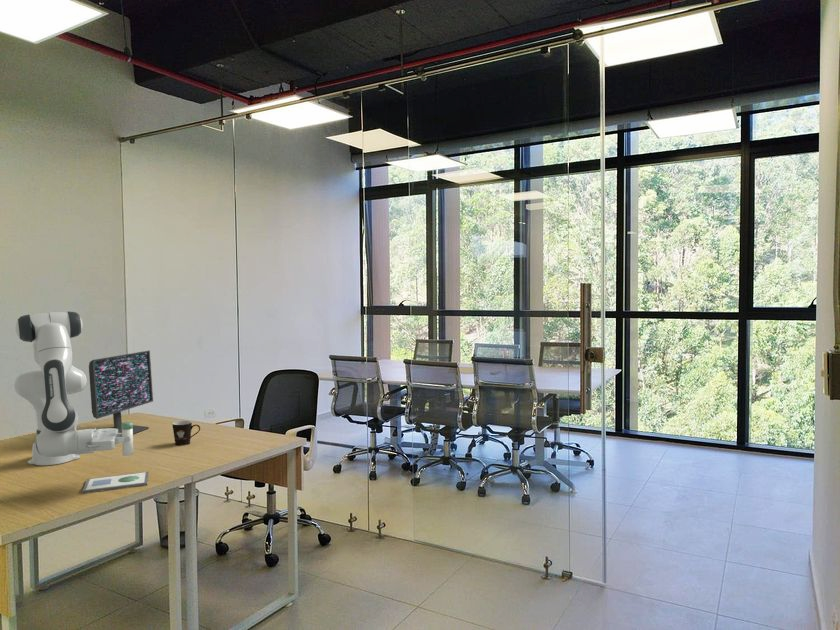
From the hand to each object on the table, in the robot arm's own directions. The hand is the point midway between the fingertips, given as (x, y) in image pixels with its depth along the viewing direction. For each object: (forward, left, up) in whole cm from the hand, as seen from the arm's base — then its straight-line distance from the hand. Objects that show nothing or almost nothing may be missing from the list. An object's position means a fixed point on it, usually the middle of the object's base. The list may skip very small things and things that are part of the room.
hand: (130, 437), depth 217 cm
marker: (0, -1, -7) cm, 7 cm away
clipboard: (0, -5, -17) cm, 18 cm away
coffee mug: (-49, +20, -17) cm, 56 cm away
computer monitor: (-87, -8, -17) cm, 89 cm away
